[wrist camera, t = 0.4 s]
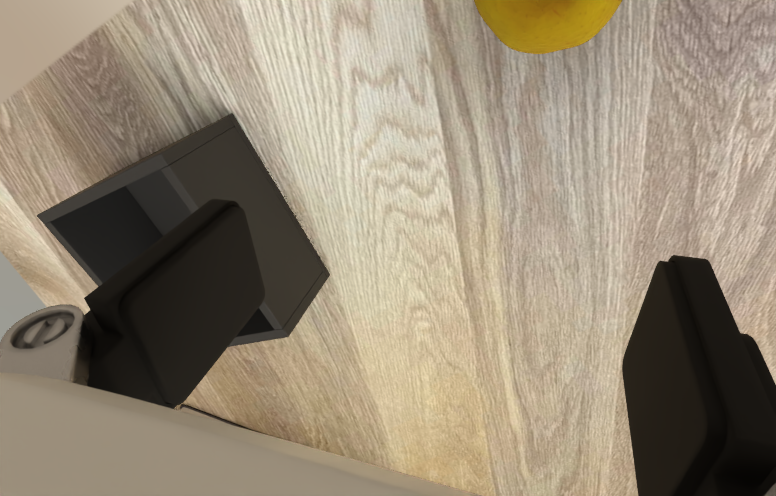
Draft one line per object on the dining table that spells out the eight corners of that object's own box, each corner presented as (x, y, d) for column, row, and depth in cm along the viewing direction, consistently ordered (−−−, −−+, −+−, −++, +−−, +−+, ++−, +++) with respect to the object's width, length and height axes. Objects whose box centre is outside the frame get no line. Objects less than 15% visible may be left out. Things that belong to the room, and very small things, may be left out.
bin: (114, 173, 39) (36, 215, 33) (232, 113, 32) (159, 153, 27) (212, 302, 45) (160, 358, 39) (330, 274, 38) (288, 337, 32)
